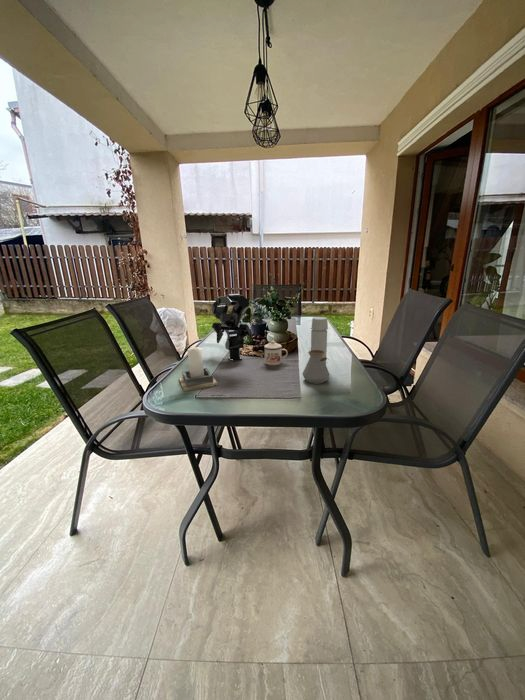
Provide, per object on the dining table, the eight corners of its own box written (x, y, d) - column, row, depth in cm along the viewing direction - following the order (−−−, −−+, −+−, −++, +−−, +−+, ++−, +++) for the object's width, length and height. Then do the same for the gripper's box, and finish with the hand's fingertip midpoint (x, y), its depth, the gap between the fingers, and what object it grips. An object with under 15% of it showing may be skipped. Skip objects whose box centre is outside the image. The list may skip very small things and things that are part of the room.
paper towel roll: (192, 377, 128) (189, 347, 124) (205, 377, 128) (203, 347, 124) (189, 383, 122) (186, 351, 119) (203, 382, 123) (200, 350, 119)
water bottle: (326, 373, 132) (328, 319, 125) (309, 372, 133) (310, 319, 126) (326, 367, 140) (328, 316, 133) (310, 366, 142) (311, 316, 135)
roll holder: (179, 379, 129) (178, 371, 128) (209, 374, 134) (209, 366, 133) (184, 391, 117) (183, 382, 116) (217, 385, 122) (217, 376, 121)
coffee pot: (300, 376, 130) (300, 344, 126) (325, 375, 130) (326, 343, 126) (310, 396, 109) (311, 358, 105) (340, 395, 110) (342, 357, 106)
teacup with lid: (264, 366, 144) (264, 343, 141) (264, 360, 153) (263, 339, 150) (288, 365, 144) (288, 342, 141) (286, 359, 153) (286, 338, 150)
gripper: (212, 306, 139) (201, 333, 132) (247, 307, 132) (237, 335, 125) (221, 319, 148) (211, 345, 141) (254, 320, 141) (246, 348, 134)
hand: (225, 343), depth 135 cm, fingers open, 9 cm apart
